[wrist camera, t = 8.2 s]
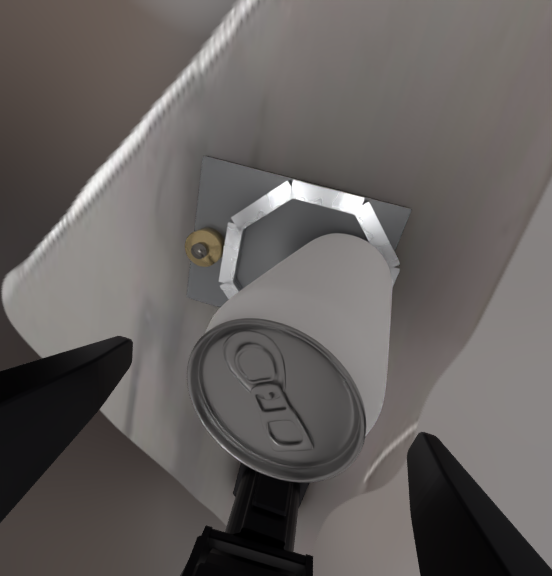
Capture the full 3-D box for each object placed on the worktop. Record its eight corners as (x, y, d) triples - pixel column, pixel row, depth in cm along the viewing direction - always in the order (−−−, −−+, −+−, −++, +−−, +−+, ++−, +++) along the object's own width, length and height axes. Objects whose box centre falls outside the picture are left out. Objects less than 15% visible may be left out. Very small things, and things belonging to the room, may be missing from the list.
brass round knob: (223, 265, 21) (213, 273, 19) (191, 256, 21) (179, 263, 19) (228, 232, 20) (219, 238, 18) (195, 223, 20) (182, 228, 18)
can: (371, 215, 17) (328, 272, 7) (407, 314, 18) (418, 498, 8) (276, 252, 20) (142, 333, 10) (312, 336, 21) (227, 491, 11)
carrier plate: (355, 344, 22) (355, 347, 21) (189, 294, 23) (186, 297, 22) (409, 208, 18) (411, 209, 17) (206, 155, 19) (203, 155, 18)
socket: (357, 360, 22) (358, 367, 21) (215, 317, 23) (211, 322, 22) (420, 211, 17) (424, 213, 17) (241, 165, 18) (237, 165, 17)
